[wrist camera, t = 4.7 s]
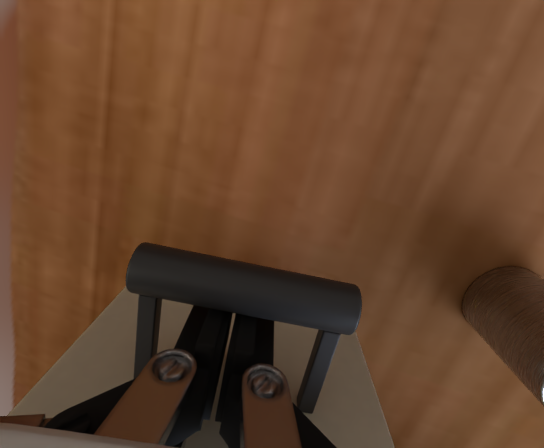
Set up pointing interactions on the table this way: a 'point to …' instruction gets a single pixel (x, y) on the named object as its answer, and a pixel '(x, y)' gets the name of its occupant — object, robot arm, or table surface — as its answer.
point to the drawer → (238, 300)
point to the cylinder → (511, 321)
